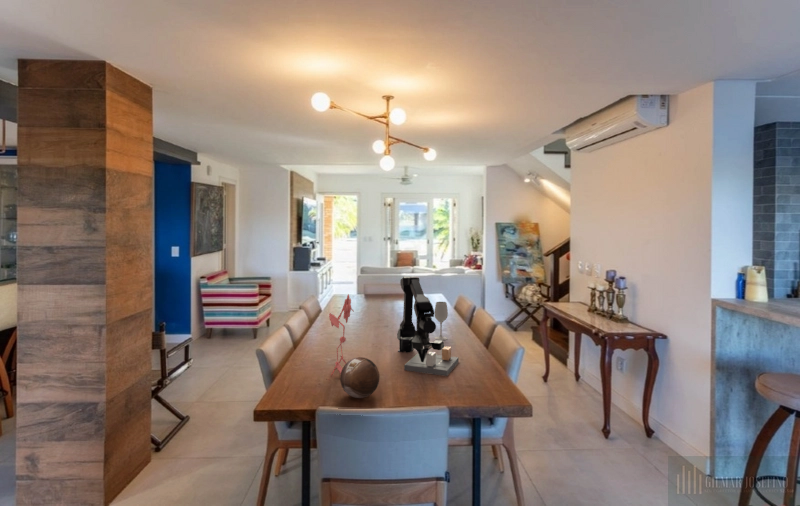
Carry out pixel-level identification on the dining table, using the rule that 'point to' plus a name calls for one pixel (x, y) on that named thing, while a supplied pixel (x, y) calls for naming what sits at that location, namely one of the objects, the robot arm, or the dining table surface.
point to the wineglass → (441, 316)
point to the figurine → (336, 322)
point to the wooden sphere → (359, 377)
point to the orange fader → (446, 353)
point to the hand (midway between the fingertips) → (422, 361)
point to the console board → (438, 369)
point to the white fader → (431, 359)
